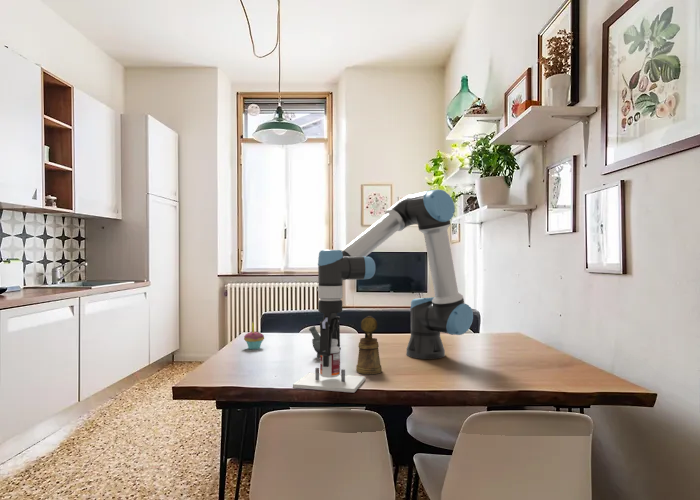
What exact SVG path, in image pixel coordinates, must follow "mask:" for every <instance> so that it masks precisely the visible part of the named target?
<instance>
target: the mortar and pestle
mask: <svg viewBox="0 0 700 500" xmlns="http://www.w3.org/2000/svg"><path fill="white" fill-rule="evenodd" d="M308 331H309V332H310V333H311V335H312V337H313V338H312V339H311V340H312V341H311V342H312V348H313V349H314V351H315V352H316V358H317V357H318V359H320V355H319V353H320V332H318V330H317V329H316V325H313V326H311V327H309V329H308Z"/></svg>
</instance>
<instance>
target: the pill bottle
mask: <svg viewBox="0 0 700 500" xmlns="http://www.w3.org/2000/svg"><path fill="white" fill-rule="evenodd" d="M337 344H338V340H337V339H332V342H331V353H330V355H332V377H331V378H333V377H337V376H339V375H341V350H340V348H339V347H338V346H337ZM319 373H320V375H321V376H322V356H320V358H319ZM327 378H329V377H327Z"/></svg>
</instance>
